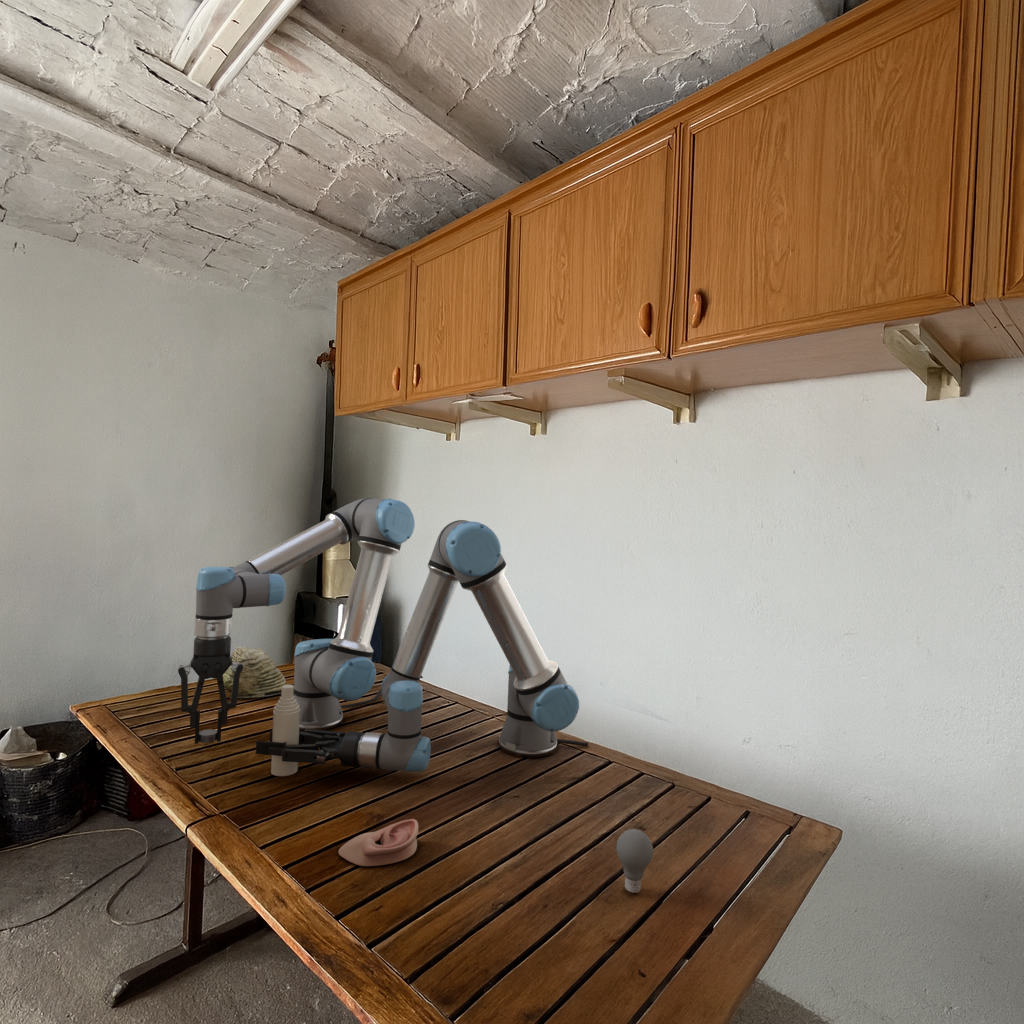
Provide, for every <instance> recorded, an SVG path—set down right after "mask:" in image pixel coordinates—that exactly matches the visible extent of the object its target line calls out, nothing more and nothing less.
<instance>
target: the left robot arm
mask: <svg viewBox="0 0 1024 1024" xmlns="http://www.w3.org/2000/svg"><path fill="white" fill-rule="evenodd" d="M415 525H416V523H415V516H414V514H413V512H412V509H411V508H410V506H408V504H407V503H406V502H403V501H401V500H398V499H392V498H372V497H363V498H360V499H357V500H354V501H352V502H350V503H348V504H345V505H344V506H341V507H339V508H338V509H336V510H334V511H332V512H330V513H328V514H327V515H325V518H324V520H323V521H320V522H319V523H316V524H315V525H313V526H311V527H309V528H307V529H306V530H303V531H301V532H300V533H297V534H295V535H293V536H291V537H289V538H287V539H286V540H284V541H281V542H280V543H278V544H276V545H274V546H272V547H270V548H269V549H266V550H265V551H263V552H261V553H259V554H257V555H255V556H253V557H252V558H250V559H247V560H245V561H243V562H241V563H239V564H237V565H235V566H205V567H202V568H200V569H199V570H198V573H197V578H196V586H195V590H196V591H195V592H196V594H195V617H194V636H195V638H194V639H193V653H192V658H191V660H190V662H189V663H186V664H184V665H183V664H180V665H179V666H178V668H177V672H178V673H177V674H179V675H178V676H179V677H180V710H181V712H182V713H188V714H189V728H190V729H194V745H198V744H199V743H200V742H199V732H200V725H201V723H200V721H201V710H198V707H199V703H200V701H201V696H202V692H203V687H204V684H205V682H206V680H209V679H215V680H216V682H217V688H218V694H219V701H220V707H221V708H218V710H217V728H216V730H217V740H216V742H218V743H220V742H221V741H222V726H226V725H227V724H228V715H229V711H230V710H232V709H235V708H237V705H238V698H237V697H238V687H239V678H240V674H241V672H242V670H243V663H242V662H239V663H238V662H235V661H232V658H231V651H232V650H231V649H232V637H231V635H232V629H233V611H234V609H241V608H257V607H271V606H276V605H279V604H282V602H283V601H284V600H285V597H286V593H287V584H286V581H285V579H284V577H283V575H284V574H286V573H288V572H289V571H291V570H293V569H296V568H297V567H299V566H301V565H302V564H304V563H306V562H308V561H310V560H312V559H314V558H315V557H317V556H319V555H320V554H322V553H324V552H326V551H328V550H330V549H332V548H333V547H335V546H337V545H341V546H343V545H347V544H348V543H351V542H352V541H355V540H357V543H358V545H359V548H360V554H359V557H358V560H357V564H356V568H355V571H354V574H353V578H352V583H351V586H350V591H349V593H348V597H347V602H346V604H345V608H344V613H343V616H342V620H341V622H340V626H339V629H338V630H339V631H338V633H337V636H336V637H335V638H318V639H308V640H303V641H300V642H299V643H297V644H296V646H295V650H294V655H293V657H294V672H293V673H294V674H293V686H294V692H293V696H294V697H295V699H296V702H298V705H299V708H300V727H299V732H301V731H303V732H305V729H314V730H324V731H330V730H332V729H335V728H337V727H339V726H340V725H342V723H343V722H344V714H343V709H345V708H352V707H357V706H361V705H366V704H370V703H372V702H374V701H376V700H377V699H378V698H379V697H380V694H382V693H381V692H382V690H381V689H379V690H378V691H377V693H376V695H375V696H374V697H373V698H370V699H367V700H363V701H358V702H353V701H357V700H359V699H361V698H362V697H363V696H365V695H367V693H369V692H370V691H371V689H372V688H373V686H374V684H375V682H376V679H377V668H376V667H375V663H374V662H373V661H372V658H373V655H374V649H373V647H372V646H371V645H372V644H371V640H372V636H373V632H374V629H375V625H376V622H377V617H378V614H379V610H380V606H381V602H382V598H383V595H384V590H385V586H386V583H387V580H388V576H389V571H390V567H391V563H392V560H393V558H394V556H396V555H397V554H399V553H400V551H401V547H402V544H404V543H405V542H408V540H410V539H411V537H412V535H413V534H414V531H415ZM230 666H232V671H233V672H234V675H233V685H232V694H231V698H230V701H228V700H227V699H228V697H227V692H226V688H225V686H224V680H223V677H224V676H223V675H224V673H225V672H226V671H227V669H228V668H229V667H230ZM191 669H192V670H193V671H194V673H195V674H196V675H197V676H198V679H197V683H196V687H195V690H194V694H193V698H192V703H191V704H189V674H190V673H191ZM423 678H424V677H423V675H421V678H420V679H423ZM340 700H343V701H346V702H353V703H347V704H341V702H340Z"/></svg>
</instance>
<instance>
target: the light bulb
mask: <svg viewBox="0 0 1024 1024" xmlns="http://www.w3.org/2000/svg"><path fill="white" fill-rule="evenodd" d="M615 849H616V854H617V857H618V859H619V861H620V863H621V865H622V867H623V873H624V874H623V875H624V876H625V878H624V888H625V890H627V891H628V892H630V893H634V894H635V893H639V892H640V891H641V889H642V887H641V886H642V879H643V877H644V875H645V871H646V868H647V867H648V866H649V864H650V863H651V861H652V859H653V855H654V847H653V843H652V841H651V838H649V836H648V835H647V834H646V833H645V832H643V831H642V830H641V829H636V828H629V829H627V830H625V831H623V832H622V833H621V834H620V835H619V837H618V839H617V841H616V847H615Z"/></svg>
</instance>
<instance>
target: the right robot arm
mask: <svg viewBox="0 0 1024 1024" xmlns="http://www.w3.org/2000/svg"><path fill="white" fill-rule="evenodd" d="M507 567H508V564H507V563H506V561H505V558H504V556H503V555H502V546H501V542H500V539H499V537H498V535H497V534H496V533H495V532H494V531H493V530H492V529H491V528H490V527H489V526H488V525H486V524H484V523H481V522H479V521H471V520H470V521H469V520H465V519H457V520H454V521H451V522H449V523H447V524H446V525H445V526H444V527H443V528H442V529H441V530H440V532H439V534H438V536H437V538H436V541H435V544H434V547H433V550H432V552H431V556H430V559H429V561H428V562H427V568H428V570H429V571H428V575H427V577H426V579H425V582H424V584H423V587H422V589H421V592H420V595H419V598H418V599H417V602H416V605H415V607H414V610H413V613H412V615H411V617H410V620H409V622H408V624H407V627H406V630H405V633H404V635H403V638H402V640H401V642H400V645H399V648H398V650H397V653H396V656H395V658H394V660H393V663H392V666H391V668H390V671H389V673H388V674H387V675H386V676H385V677H384V678H383V680H382V682H381V689H380V690H382V692H381V693H380V694H381V697H382V699H383V700H384V703H385V707H386V711H387V733H384V732H383V733H382V732H372V731H371V732H370V731H367V732H365V733H364V732H362V731H352V730H348V731H347V732H346V731H345V730H344V731H334V730H333V731H332V730H325V731H324V730H314V729H305V732H303V731H299V745H286V742H284V743H280V742H272V731H273V729H271V730H270V731H269V741H265V740H257V741H256V742H255V754H256V755H264V756H265V755H266V756H272V755H275V756H282V761H284V762H298V763H303V764H304V763H305V764H316V765H321V766H324V765H326V761H327V760H338V761H340V764H341V765H342V766H343V767H349V768H358V767H360V768H365V769H370V770H372V771H375V770H388V771H399V772H405V773H422V772H424V771H426V770H427V768H428V767H429V763H430V760H431V759H430V758H431V754H432V753H431V752H432V745H431V739H430V738H429V737H427V736H424V735H422V717H423V716H422V715H423V702H424V697H423V686H422V684H421V683H419V682H420V680H421V679H422V678H421V675H422V674H423V672H424V669H425V667H426V664H427V663H428V659H429V657H430V654H431V651H432V649H433V646H434V644H435V642H436V639H437V636H438V634H439V631H440V629H441V626H442V624H443V621H444V618H445V616H446V614H447V611H448V609H449V607H450V604H451V601H452V599H453V596H454V594H455V591H456V588H457V586H458V584H460V587H461V588H462V589H463V590H466V591H470V592H471V593H472V595H473V597H474V599H475V601H476V603H477V604H478V607H479V609H480V610H481V612H482V614H483V617H484V619H485V620H486V623H487V624H488V625H489V628H490V630H491V631H492V633H493V636H494V637H495V640H496V641H497V643H498V645H499V646H500V649H501V650H502V652H503V654H504V656H505V658H506V661H507V662H508V664H509V667H508V672H507V674H508V684H507V688H508V689H507V711H506V718H505V721H504V723H503V726H502V729H501V731H500V734H499V737H498V747H499V749H500V750H501V751H502V752H504V753H506V754H507V755H511V756H513V757H517V758H518V757H519V758H526V759H528V758H529V759H536V758H537V759H539V758H544V757H548V756H550V755H553V754H554V753H556V752H557V749H558V744H563V745H564V744H565V745H572V746H580V747H589V742H588V741H579V740H569V739H559V738H557V735H556V732H559V731H562V730H564V729H566V728H568V727H569V726H570V725H571V724H572V723H573V722H574V721H575V720H576V718H577V715H578V712H579V710H580V698H579V696H578V693H577V691H576V690H575V688H574V687H573V686H572V685H570V684H569V683H568V682H567V680H566V678H565V676H564V675H563V673H562V670H561V668H560V667H559V664H558V663H557V661H555V660H552V659H550V658H548V657H547V655H546V653H545V651H544V649H543V647H542V646H541V643H540V642H539V639H538V638H537V636H536V633H535V631H534V629H533V627H532V626H531V624H530V622H529V620H528V618H527V616H526V614H525V612H524V610H523V608H522V606H521V604H520V602H519V601H518V599H517V597H516V594H515V592H514V591H513V589H512V587H511V585H510V583H509V581H508V579H507V577H506V573H505V572H506V569H507ZM422 676H423V675H422Z"/></svg>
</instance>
